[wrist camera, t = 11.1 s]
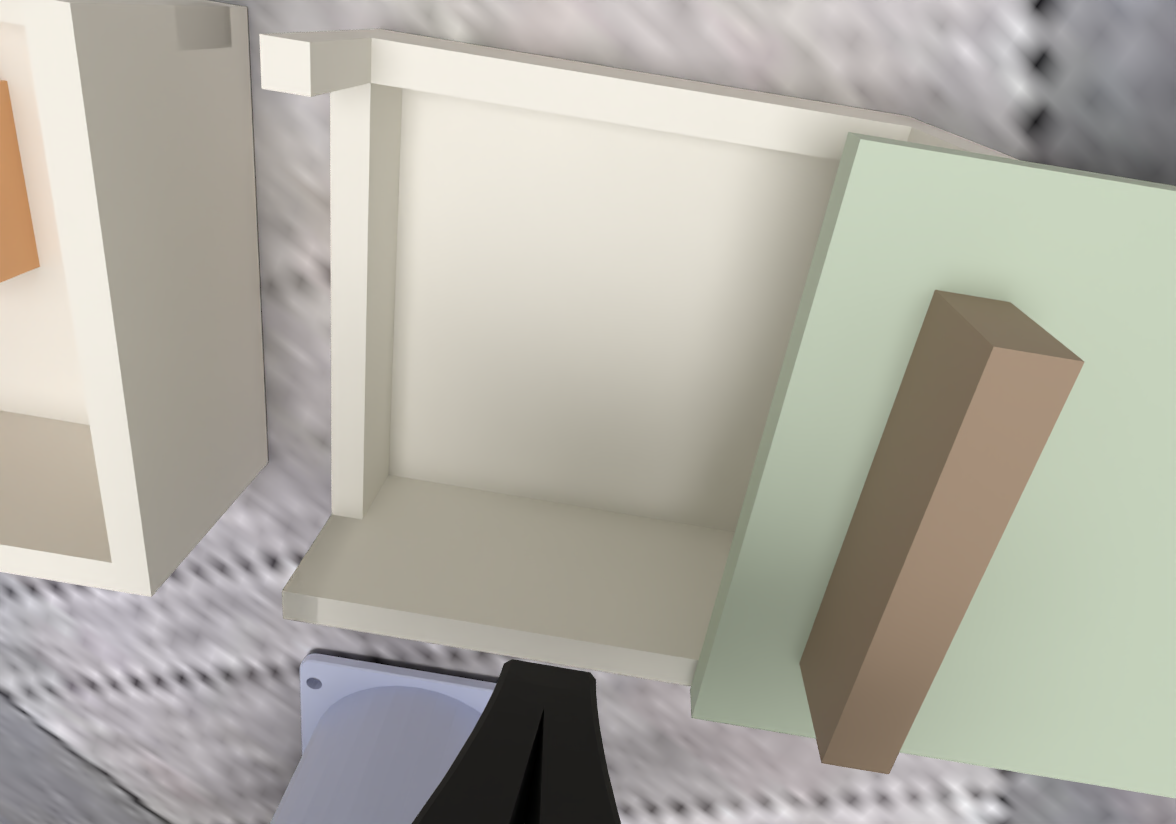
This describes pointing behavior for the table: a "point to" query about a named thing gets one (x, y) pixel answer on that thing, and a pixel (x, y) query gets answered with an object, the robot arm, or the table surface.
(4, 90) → the block
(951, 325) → the lid
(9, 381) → the crate
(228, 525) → the table surface
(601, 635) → the crate
